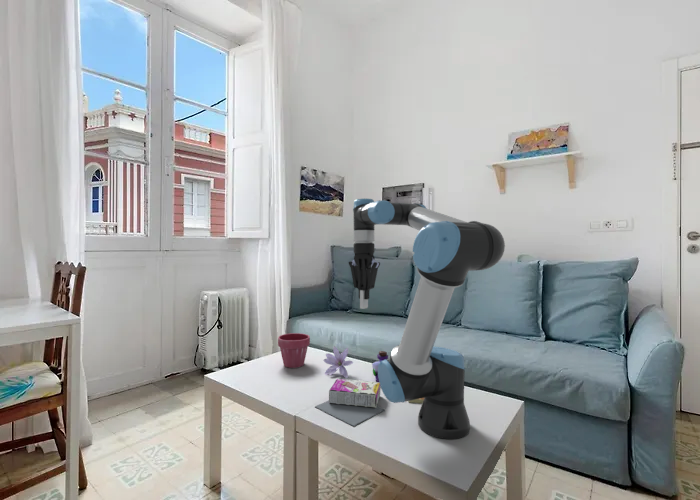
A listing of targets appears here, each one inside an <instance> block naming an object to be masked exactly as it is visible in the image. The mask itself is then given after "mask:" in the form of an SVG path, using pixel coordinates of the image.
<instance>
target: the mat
mask: <svg viewBox="0 0 700 500" xmlns="http://www.w3.org/2000/svg"><path fill="white" fill-rule="evenodd" d="M314 408H316V409H318V410H320V411H322V412H323V413H325V414H328V415H329V416H332V417H334V418H336V419H338V420H340V421H342V422H343V423H346V424H348V425H350V426H351V427H356V426H358V425H359V424H361V423H364V422H366V421H367V420H369V419H371V418H373V417H374V416H376V415H378V414H380V413H382V412H385V410H386V409H385V408H384V407H380V406H378V405H377V407H376V408H370V407H360V406H350V405H340V404H331V403H329V400H326V401H324V402H321V403H319V404H317V405H315V406H314Z"/></svg>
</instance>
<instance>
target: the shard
mask: <svg viewBox="0 0 700 500" xmlns="http://www.w3.org/2000/svg"><path fill="white" fill-rule="evenodd" d="M423 400H424V398H420V399H415V400H410V401H407V402H408V403H412V404H413V403H414V404H422V403H423Z"/></svg>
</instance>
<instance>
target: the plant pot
mask: <svg viewBox="0 0 700 500" xmlns="http://www.w3.org/2000/svg"><path fill="white" fill-rule="evenodd" d="M310 342H311V337H310V335H309V334H306V333H301V332H300V333H299V332H294V333H293V332H292V333H284V334H281V335H279V336H278V337H277V346H278V347H279V348H280V354H281V359H282V363H283V367H286V368H291V369H297V368H301V367H303V366H304V365H305V360H306V357H307V351H308V348H309V346H310V345H311V343H310Z"/></svg>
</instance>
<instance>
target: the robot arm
mask: <svg viewBox="0 0 700 500" xmlns="http://www.w3.org/2000/svg"><path fill="white" fill-rule="evenodd" d="M352 212H353V239H352V240H353V242H355V243H353V253H354V256H353V260H351V261H348V266H349V268H350V272H351V277H352V283H353V288H354V289H355V288H356V289H357V290H358V299H359V309H361V310H362V309H363V310H364V309H368V308H369V299H370V290H373V289H375V284H376V279H377V276H378V269H379V267H380V266H381V262H379V261H377V260H375V255H374V254H375V243H374V242H375V225H376V226H377V225H385V226H386V225H387V226H388V225H389V226H408V227H410V228H413V229H415V230H417V231H418V233H417V234H416V237H415V238H414V242H413V245H412V252H413V254H412V258H413V262H414V264H415V266H416V271H417V273H418V274H419V276H420V278H419V281H418V284H417V287H416V288H417V289H416V290H415V294H414V298H413V301H412V303H411V307H410V311H409V313H408V317H407V320H406V323H405V326H404V330H403V332H402V336H401V339H400V343H399V345H396V346H394V347H393V348H392V350H391V353H390V356H389V358H388V359H387V360H386V359H385V360H383V361H381V362H380V363H379V366H378V378H379V382H380V390H381V391H382V393H383V395H384V397H385V398H386V399H387V400H388V401H389V402H390V403H393V404H396V403H405V402H408V401H410V400H415V399H420V398H424V400H423V403H421V406H420V410H419V412H418V416H417V424H418V426H419V428H420V429H421V431H422V432H424V433H426V434H427V435H430V436H432V437H435V438H439V439H446V440H456V439H462V438H464V437H466V436H467V435H468V434H470V431H471V428H470V427H471V423H470V419H469V416H468V415H469V414H468V412H467V409H466V405H465V369H466V367H465V358H464V356H463V354H462V353H461V352H459V351H458V350H454V349H451V348H446V347H441V346H435V344H436V341H437V338H438V335H439V332H440V329H441V327H442V325H443V321H444V319H445V316H446V313H447V310H448V307H449V306H450V305H449V304H450V302H451V299H452V297H453V294H454V292H455V290H456V288H459V287H462V286H463V285H464V282H465V281H466V278H467V275H468V272H471V271H472V272H473V271H484V270H487V269H490V268H492V267H494V266H495V265H496V264H498V263H499V261H500V260H501V259H502V257H503V255H504V253H505V247H506V245H505V244H506V243H505V239H504V236H503V235H502V233H501V232H500V231H499V230H498V228H496V227H495V226H493V225H491V224H488V223H484V222H479V221H477V220H471V221H468V222H467V221H464V220H461V219H459V218H457V217H453V216H449V215H446V214H443V213H441V212H437V211H434V210H432V209H428V208H427V206H426V205H424V204H419V203H405V202H404V203H403V202H402V203H401V202H391V201H388V200H384V199H382V200H376V201H375V200H374V199H373V198H357V199H355V200H353V208H352Z"/></svg>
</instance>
